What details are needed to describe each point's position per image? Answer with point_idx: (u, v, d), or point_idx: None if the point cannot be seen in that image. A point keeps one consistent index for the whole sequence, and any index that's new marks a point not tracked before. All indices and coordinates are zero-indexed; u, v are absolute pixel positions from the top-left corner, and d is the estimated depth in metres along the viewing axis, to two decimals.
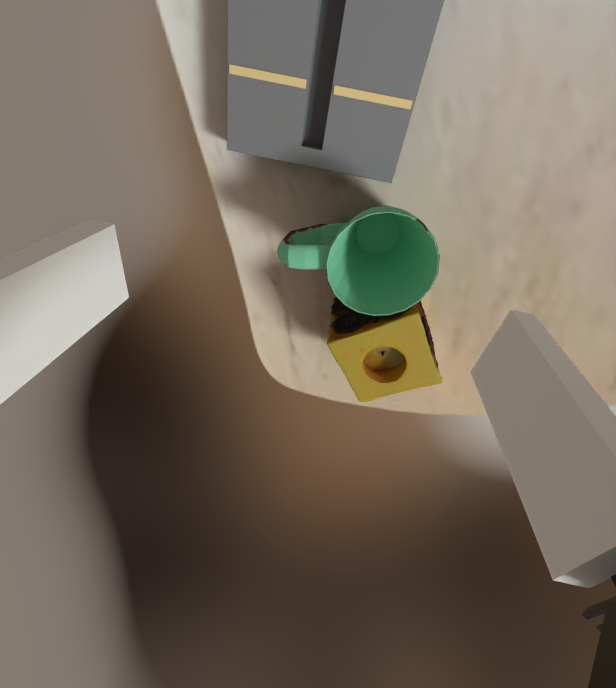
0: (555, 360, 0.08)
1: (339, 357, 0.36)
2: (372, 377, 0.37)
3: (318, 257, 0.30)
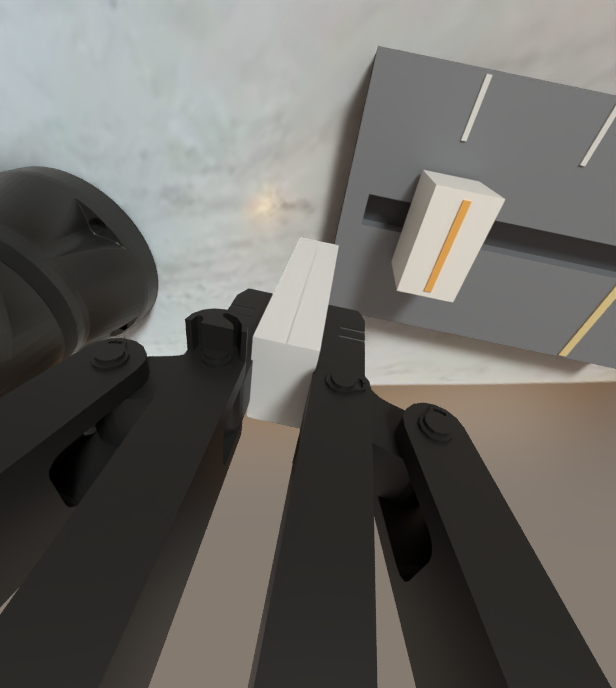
0: (319, 269, 0.10)
1: None
2: None
3: None
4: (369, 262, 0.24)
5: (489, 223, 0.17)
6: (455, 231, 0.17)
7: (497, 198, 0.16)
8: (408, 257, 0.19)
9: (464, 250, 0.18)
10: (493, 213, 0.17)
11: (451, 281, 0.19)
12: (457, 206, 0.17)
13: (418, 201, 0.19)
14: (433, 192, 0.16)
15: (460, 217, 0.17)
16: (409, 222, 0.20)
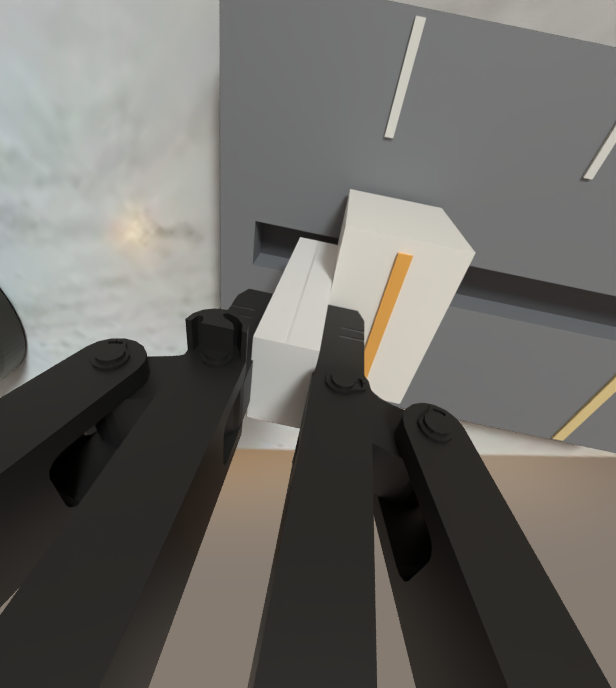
0: (319, 269, 0.10)
1: None
2: None
3: None
4: None
5: (449, 292, 0.09)
6: (389, 303, 0.10)
7: (460, 250, 0.09)
8: None
9: (409, 332, 0.10)
10: (455, 276, 0.09)
11: (393, 375, 0.11)
12: (388, 263, 0.09)
13: (339, 242, 0.12)
14: (342, 239, 0.09)
15: (395, 281, 0.09)
16: None
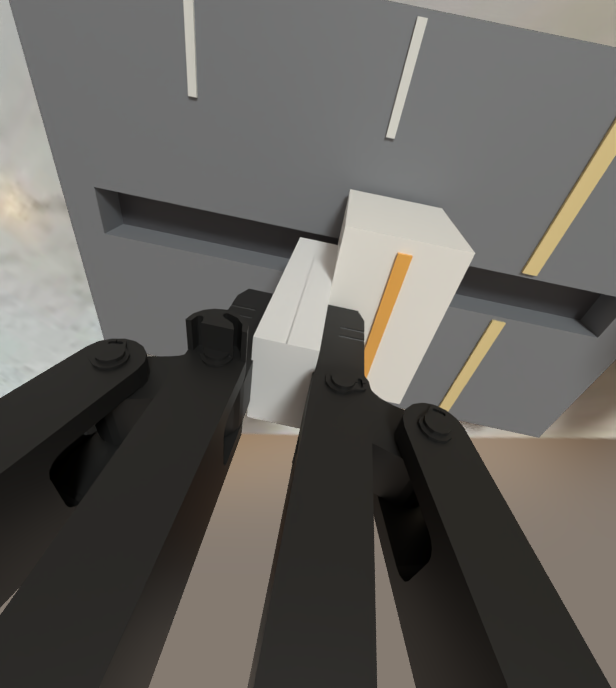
0: (319, 269, 0.10)
1: None
2: None
3: None
4: (140, 287, 0.16)
5: (448, 292, 0.09)
6: (388, 303, 0.10)
7: (460, 251, 0.09)
8: None
9: (409, 332, 0.10)
10: (454, 276, 0.09)
11: (393, 376, 0.11)
12: (388, 263, 0.09)
13: None
14: (342, 239, 0.09)
15: (394, 281, 0.09)
16: None
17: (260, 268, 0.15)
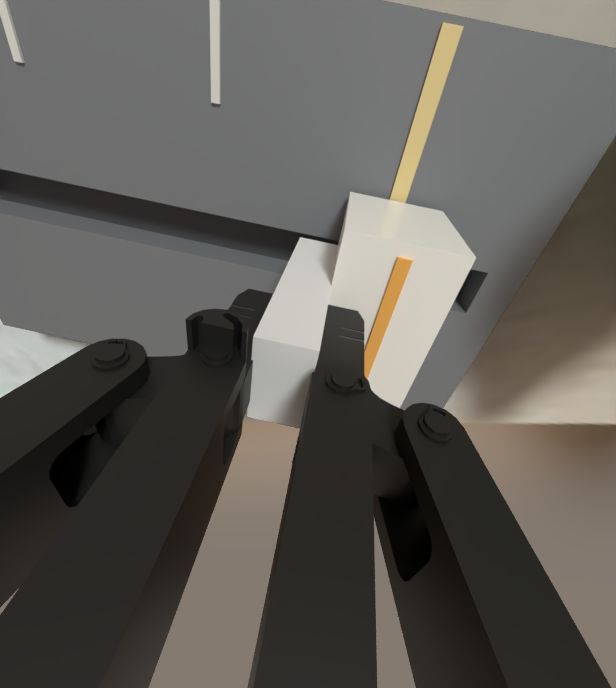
0: (319, 269, 0.10)
1: None
2: None
3: None
4: (21, 263, 0.16)
5: (449, 297, 0.09)
6: (388, 307, 0.10)
7: (461, 255, 0.08)
8: None
9: (409, 337, 0.10)
10: (455, 281, 0.09)
11: (393, 380, 0.11)
12: (388, 267, 0.09)
13: None
14: (341, 242, 0.09)
15: (394, 285, 0.09)
16: None
17: (129, 242, 0.15)
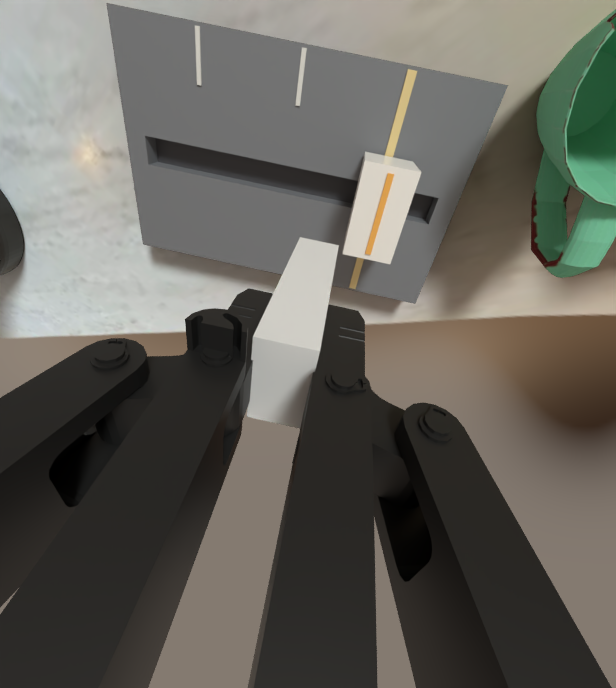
0: (319, 269, 0.10)
1: None
2: None
3: (602, 219, 0.18)
4: (167, 200, 0.28)
5: (411, 193, 0.20)
6: (383, 200, 0.21)
7: (415, 171, 0.20)
8: (349, 223, 0.22)
9: (394, 217, 0.21)
10: (413, 184, 0.20)
11: (386, 245, 0.23)
12: (383, 178, 0.20)
13: (359, 177, 0.23)
14: (363, 167, 0.20)
15: (386, 187, 0.20)
16: None
17: (236, 184, 0.26)
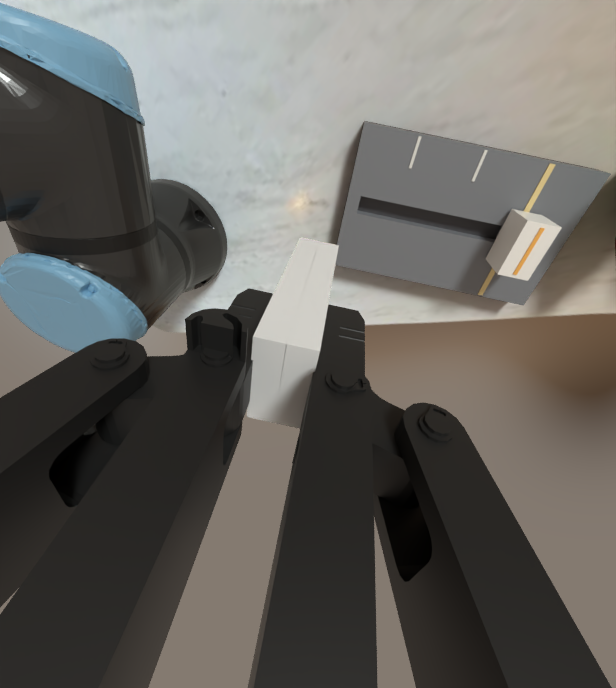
0: (319, 269, 0.10)
1: None
2: None
3: None
4: (361, 235, 0.41)
5: (552, 239, 0.34)
6: (534, 242, 0.34)
7: (557, 227, 0.33)
8: (506, 256, 0.35)
9: (537, 252, 0.35)
10: (555, 234, 0.33)
11: (528, 269, 0.36)
12: (537, 230, 0.33)
13: (510, 226, 0.36)
14: (525, 224, 0.33)
15: (538, 235, 0.33)
16: (503, 237, 0.37)
17: (415, 226, 0.39)
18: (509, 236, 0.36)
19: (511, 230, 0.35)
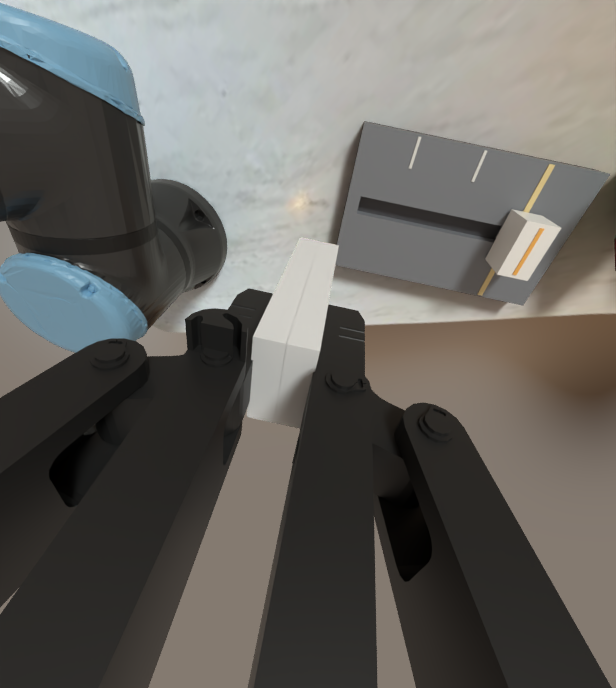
0: (319, 269, 0.10)
1: None
2: None
3: None
4: (361, 236, 0.41)
5: (552, 239, 0.34)
6: (534, 243, 0.34)
7: (557, 227, 0.33)
8: (506, 256, 0.35)
9: (537, 252, 0.35)
10: (554, 234, 0.33)
11: (528, 269, 0.36)
12: (536, 231, 0.33)
13: (510, 226, 0.36)
14: (525, 224, 0.33)
15: (537, 236, 0.34)
16: (502, 237, 0.37)
17: (415, 227, 0.39)
18: (509, 236, 0.36)
19: (511, 230, 0.36)
